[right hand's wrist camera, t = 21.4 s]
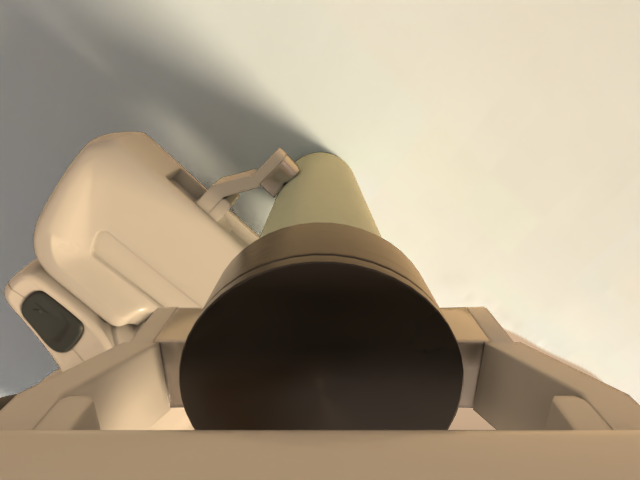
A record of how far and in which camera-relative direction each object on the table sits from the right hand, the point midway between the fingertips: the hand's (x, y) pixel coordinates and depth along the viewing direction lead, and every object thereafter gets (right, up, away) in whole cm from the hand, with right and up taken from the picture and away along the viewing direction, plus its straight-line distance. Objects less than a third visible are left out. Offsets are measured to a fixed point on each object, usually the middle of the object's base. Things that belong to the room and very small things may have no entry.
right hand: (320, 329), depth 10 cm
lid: (0, -1, -2) cm, 2 cm away
